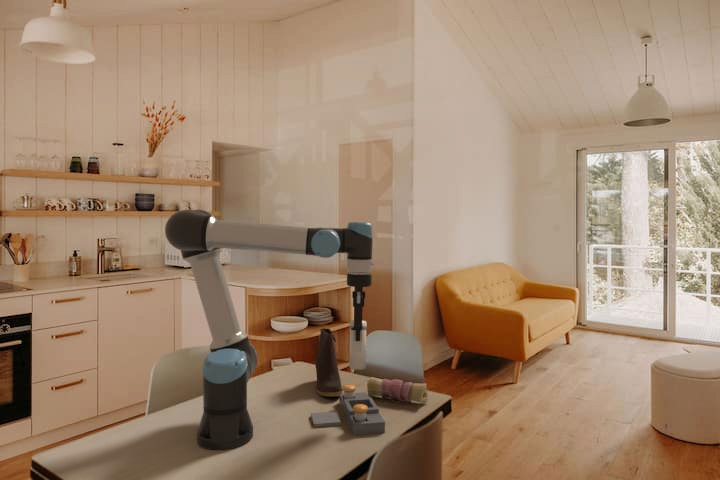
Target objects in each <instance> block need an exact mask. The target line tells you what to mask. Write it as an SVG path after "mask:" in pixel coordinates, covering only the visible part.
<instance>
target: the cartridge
mask: <svg viewBox="0 0 720 480" xmlns="http://www.w3.org/2000/svg"><path fill="white" fill-rule="evenodd" d="M367 323H368V322H367V321H366V320H364V319H363V320H362V327H363V329H362V352H360V351H353V330H351V328H353V326H354V319H353V320H350V323H349V357H348V358H349V360H348V361H349V364H348V367H349V368H350V369H351V370H364V369H366V367H367V366H366V362H367V361H366V360H367V329H368V328H367V327H368V324H367Z"/></svg>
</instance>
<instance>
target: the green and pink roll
mask: <svg viewBox="0 0 720 480" xmlns="http://www.w3.org/2000/svg"><path fill="white" fill-rule="evenodd" d="M366 384H367V385H366V387H367V388H366V389H367V394H368V396H369V397H381V398H382V399H390V401H391V402H392V403H396V404H397V403H398V404H399V403H403V402H404V401H405V402H406V401H407V402H409V403H410V402H413V401H414V402H417V403H421V404H426V403H427V402H428V400H429V399H428V398H429V395H428V389H427V383H414V382H413V381H410V382H409V381H408V382H404V380H401V379H396V378H395V379H392V380H391V379H386V378H383V379H382V378H377V377H373V376H371V377H369V378H368V380H367V383H366Z"/></svg>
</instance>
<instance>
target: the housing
mask: <svg viewBox="0 0 720 480" xmlns="http://www.w3.org/2000/svg"><path fill="white" fill-rule="evenodd" d="M357 404H363V405H366V406H367V407H368V410H367V411H366V421H363V422H355V411H353V406H354V405H357ZM339 405H340V407H341V409H342V411H343V414H344V415H345V416H344V417H345V418H346V420H347V422H348V425H349V427H350V429H351V431H352V434H353V435H354V436H356V435H367V434H368V435H369V434H377V433H378V434H380V433H381V434H382V433H385V432H386V431H385V430H386V422H385V419H384V418H383V417H382V415H381V413H380V408H379V407H378V406H377V404H376V403H375V401H374V399H373V397H372V396H368V392H354V398H351V399H344V393H342V394H340V396H339Z"/></svg>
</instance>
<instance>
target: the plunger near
mask: <svg viewBox="0 0 720 480" xmlns="http://www.w3.org/2000/svg"><path fill="white" fill-rule="evenodd" d="M367 410H368V407H367V406H366V405H363V404H357V405H354V406H353V411H355V422H363V421H366V411H367Z"/></svg>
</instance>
